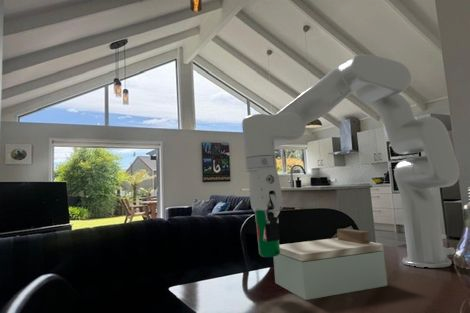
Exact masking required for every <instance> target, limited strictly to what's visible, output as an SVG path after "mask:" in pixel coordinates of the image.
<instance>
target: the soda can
mask: <svg viewBox="0 0 470 313" xmlns="http://www.w3.org/2000/svg"><path fill="white" fill-rule="evenodd" d="M267 210H272V207H271V208H267ZM254 214H255V215H256V221H255V226H257V229H256V237H257V236H258V238H257V244H258V246H257V247H258V254H259V255H260V257H262V258H273V257H275V256H278V255H279V253H280V246H279V245H280V240H277V241H270V242H268V241H267V240H266V231H265V224H267V223H266V219H265V214H264V211H261V210H259V209H258V208H256V210H255V213H254ZM268 214H269V216H270V213H268ZM255 215H254V216H255Z"/></svg>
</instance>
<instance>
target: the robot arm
mask: <svg viewBox="0 0 470 313" xmlns="http://www.w3.org/2000/svg"><path fill="white" fill-rule="evenodd" d="M411 82H412V74H411V71H410V69H409V68H408V66H406V65H405V64H403V63H402V62H400V61H397V60H393V59H390V58H385V57H382V56H378V55H373V54H365V53H361V54H356V55H354V56H352V57H351V58H349V59H348V60H345V62H342V63H340V64H338V65H337V66H336V67H335V68H333V69H332V70H330V71H328V73H326V74H325V75H324V76H323V77H322V78H320V80H318V81H317V82H316V83H314V84H312V86H310V87H309V88H307V89H306V90H305V91H303V92H302V93H301V94H300V95H298V96H297V97H296V98H295V99H294V100H293V101H291V102H290V103H289V104H287V105H286V106H285V107H283V108H282V109H280V110H279V111H278V112H277V113H274V114H264V113H256V114H250V115H248V116H245V117H244V118H243V119H242V123H241V124H242V125H241V128H242V138H243V139H242V140H243V149H244V158H245V169H246V173H248V181H249V182H248V183H249V184H248V186H249V187H248V188H249V190H248V191H249V200H250V206H251V209H252V211H253V215H254V216H255V217H254V221H255V222H256V215H255V210H256V208H258V209H259V210H261V211H264V214H265V219H266V223H267V224H265V231H266V240H267V241H268V242H270V241H277V240H279V241H280V239H281V238H280V227H279V216H280V213H281V210H282V209H283V208H284V203H283V194H282V189H281V187H282V186H281V180H280V178H279V174H278V171H277V170H278V167H277V157H276V156H277V155H276V149H275V148H277V147H278V148H279V147H281V146H284V145H287V144H291V143H294V142H296V141H298V140H300V139H301V138H302V137H303V136H304V134H305V132H306V128H307V126H306V125H307V124H310V123H311V122H314V121H316V120H318V119H320V118H322V117H324V116H325V115H327V114H328V113H330V112H331V111H332V110H333V109H334V108H336V107H337V105H339V104H340V103H341V102H342V101H344V99H346V98H347V97H348V96H349V95H350V94H352V93H353V92H354V93H355V96H356V97H357V98H358V99H359V100H360V101H361V102H363V103H365V104H368V105H370V106H371V107H372V108H373V109H375V110H376V111H377V113H379V115H380V117H381V120H382V122H383V125H384V128H385V131H386V136H387V137H388V138H387V139H388V142H389V145H390V147H391V149H392V150H393V152H395V154H399V155H408V154H409V155H410V154H415V153H422V152H424V154H425V155H420V156H414V157H413V156H412V157H407V158H405V159H402V160H400V161H398V163H397V164H396V165H395V166H394V172H393V176H394V180H395V182H396V185H397V188H398V189H397V190H398V193H399V196H400V203H401V208H402V209H401V211H402V218H403V226H404V236H405V243H406V251H407V252H406V253H407V256H404V257H402V263H403V264H404V265H406V266H409V265H410V267H414V266H416V267H417V268H424V267H428V268H427V269H429V268H430V269H438V268H439V269H440V268H447V267H450V266H452V265H451V264H453V263H452V260H451V259H450V258H448V256H449V255H450V256H451V255H454V253H455V254H456V252H455V251H456V250H457V249H455V248H454V247H446V246H444V242H443V236H442V230H441V229H442V227H441V221H440V220H441V219H440V212H439V205H438V201H437V198H436V197H435V195H434V194H433V192H432V191H431V190H430V189H431V188H432V189H435V188H438V189H439V188H446V187H447V188H448V187H452V186H454V185H455V184H456V183H457V182H458V180H459V178H460V167H459V163H458V161H457V156H456V153H455V149H454V146H453V144H452V140H451V138H450V134H449V132H448V131H449V130H448V129H447V127H446V126H445V124H444V123H443V121H441V120H440V119H438V118H436V117H434V116H426V117H420V118H415V115H414V112H413V110H412V107H411V104H410V103H409V101H408V100H407V99H406V98H405V97H404V96H403V95H401V94H400V93H403V92H404V91H405V90H407V89H408V87H409V86H410V84H411ZM271 207H272V210H267V208H271ZM268 213H270V216H269V214H268ZM255 226H256V225H255ZM255 229H256V230H257V226H256V227H255ZM256 238H257V239H258V236H257V235H256Z"/></svg>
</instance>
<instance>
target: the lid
mask: <svg viewBox="0 0 470 313" xmlns="http://www.w3.org/2000/svg"><path fill="white" fill-rule="evenodd" d="M336 233H337V237H334V238H325V239H316V240H307V241H301V242H300V241H299V242H293V243H290V242H289V243H283V244H279V246H280V253H279V254H282V255H285V256H288V257H291V258H294V259H297V260H299V261H309V260H317V259H324V258H331V257H339V256H346V255H353V254H361V253H368V252H375V251H384V244H383V243H380V242H379V243H378V242H373V241H370V233H369V231H366V230H365V231H364V230H358V229H350V228H337V229H336Z"/></svg>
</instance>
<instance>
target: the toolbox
mask: <svg viewBox="0 0 470 313" xmlns="http://www.w3.org/2000/svg"><path fill="white" fill-rule="evenodd" d="M272 258H273V268H274V269H273V270H274V271H273V272H274V283H275V284H276V285H278V286H280V287H282V288H284V289H285V290H287V291H289V292H291V294H294V295H295V296H297V297H299V298H301V299H302V300H304V301H307V300H309V301H310V300H314V299H320V298H324V297H330V296H336V295H342V294H347V293H354V292H358V291H365V290H371V289H376V288H381V287H382V288H383V287H387V286H388V278H387V270H386V260H385V259H386V258H385V251H384V250H383V251H375V252H368V253H361V254H353V255H346V256H339V257H331V258H324V259H317V260H309V261H299V260H297V259H294V258H291V257H288V256H285V255H282V254H279V255H278V256H275V257H272Z"/></svg>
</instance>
